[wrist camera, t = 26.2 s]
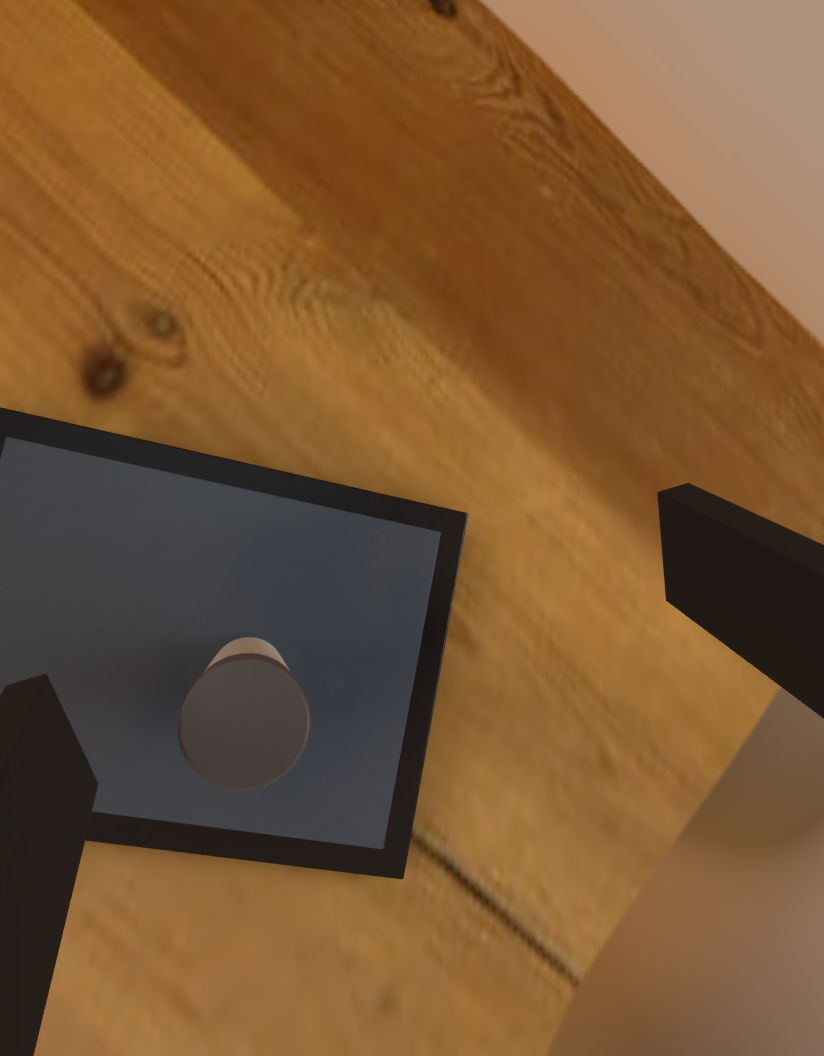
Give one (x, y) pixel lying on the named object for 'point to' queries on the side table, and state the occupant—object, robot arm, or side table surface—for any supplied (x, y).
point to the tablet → (225, 635)
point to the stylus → (244, 718)
